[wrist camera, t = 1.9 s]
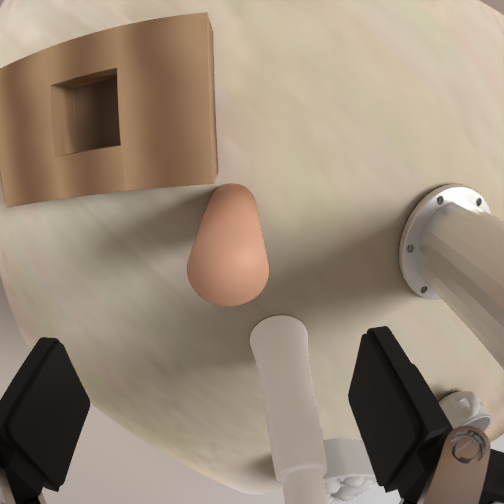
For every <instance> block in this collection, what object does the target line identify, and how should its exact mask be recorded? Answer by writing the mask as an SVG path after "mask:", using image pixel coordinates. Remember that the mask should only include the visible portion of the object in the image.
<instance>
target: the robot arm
mask: <svg viewBox="0 0 504 504" xmlns="http://www.w3.org/2000/svg"><path fill="white" fill-rule="evenodd" d="M399 263H400V270H401V272H402V275H403V278H404V279H405V281H406V282H407V284H408V285H409V286H410V287H411V288H412V290H413V291H414V292H415V293H417V294H418V295H420V296H422V297H425V298H428V299H442V300H443V301H444V302H445V303H446V304H447V305H448V306H449V307H450V308H451V309H452V310H453V311H454V312H455V313H456V315H457V316H458V317H459V318H460V319H461V320H462V321H463V322H464V323H465V324H466V326H467V327H468V328H469V329H470V330H471V331H472V332H473V333H474V335H475V336H476V337H477V338H478V339H479V340H480V342H481V343H482V344H483V345H484V346H485V347H486V349H487V350H488V351H489V352H490V353H491V355H492V356H493V357H494V358H495V359H496V361H497V362H498V363H499V364H500V365H501V367H502V368H503V369H504V221H502V220H501V219H499V218H497V217H495V216H493V215H491V212H490V209H489V206H488V204H487V202H486V201H485V199H484V198H483V197H482V196H481V195H480V194H479V193H478V192H477V191H475V190H474V189H472V188H470V187H467V186H464V185H461V184H449V185H444V186H442V187H439V188H437V189H435V190H434V191H432V192H431V193H429V194H428V195H426V196H425V197H424V198H423V199H422V200H421V201H420V202H419V203H418V205H417V206H416V207H415V209H414V210H413V212H412V213H411V215H410V217H409V219H408V221H407V223H406V224H405V227H404V230H403V233H402V236H401V241H400V246H399ZM348 398H349V403H350V406H351V409H352V412H353V414H354V417H355V420H356V423H357V425H358V428H359V431H360V434H361V437H362V440H363V442H364V445H365V448H366V451H367V454H368V457H369V460H370V463H371V466H372V469H373V472H374V475H375V478H376V481H377V483H378V485H379V486H384V488H385V491H386V493H387V492H390V491H393V490H396V489H398V492H399V494H400V497H401V501H400V503H399V504H504V453H503V452H500V451H496V450H493V449H490V442H489V439H488V437H487V436H486V434H485V433H484V432H483V431H481V430H480V429H479V428H476V427H474V426H468V425H465V426H459V427H457V428H455V429H453V427H452V425H451V424H450V422H449V420H448V418H447V417H446V415H445V413H444V411H443V410H442V408H441V406H440V405H439V403H438V401H437V399H436V398H435V396H434V394H433V393H432V391H431V389H430V388H429V386H428V384H427V383H426V381H425V380H424V378H423V376H422V375H421V373H420V372H419V370H418V368H417V367H416V366H415V365H414V364H412V363H411V362H410V360H409V359H408V357H407V355H406V354H405V352H404V351H403V349H402V348H401V346H400V344H399V343H398V341H397V340H396V338H395V337H394V335H393V334H392V332H391V331H390V329H389V328H388V327H387V326H383V327H376V328H370V329H368V331H367V334H363V335H362V338H361V342H360V347H359V352H358V356H357V360H356V365H355V369H354V373H353V377H352V381H351V385H350V389H349V393H348ZM89 408H90V399H89V397H88V395H87V393H86V391H85V389H84V387H83V386H82V384H81V382H80V380H79V377H78V375H77V373H76V371H75V369H74V367H73V365H72V363H71V361H70V358H69V356H68V354H67V352H66V350H65V347H64V345H63V344H62V343H60V341H59V340H58V339H56V338H46V337H42V338H40V339H39V340H38V342H37V343H36V345H35V346H34V348H33V349H32V351H31V352H30V354H29V355H28V357H27V358H26V360H25V361H24V363H23V365H22V366H21V368H20V369H19V371H18V372H17V374H16V375H15V377H14V378H13V380H12V382H11V383H10V385H9V387H8V388H7V390H6V392H5V393H4V395H3V397H2V398H1V400H0V504H47V503H46V501H45V499H44V497H43V494H42V492H41V491H42V488H43V487H45V488H47V489H50V490H53V491H56V492H58V491H59V487H60V486H61V485H63V483H64V481H65V478H66V475H67V472H68V469H69V466H70V462H71V459H72V456H73V453H74V450H75V447H76V444H77V442H78V439H79V436H80V433H81V430H82V427H83V424H84V422H85V419H86V416H87V414H88V411H89Z"/></svg>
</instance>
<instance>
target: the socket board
mask: <svg viewBox="0 0 504 504" xmlns="http://www.w3.org/2000/svg"><path fill="white" fill-rule="evenodd" d="M0 172H1V179H2V185H3V191H4V197H5V202H6V207H13V206H18V205H24V204H30V203H37V202H43V201H49V200H56V199H63V198H70V197H78V196H86V195H94V194H102V193H111V192H120V191H129V190H139V189H150V188H162V187H174V186H188V185H203V184H214V181H215V179H216V176H217V174H218V159H217V139H216V116H215V90H214V58H213V31H212V27H211V24H210V20H209V17H208V14H207V13H197V14H188V15H180V16H172V17H165V18H159V19H153V20H148V21H142V22H137V23H132V24H128V25H123V26H119V27H115V28H111V29H107V30H103V31H99V32H95V33H92V34H88V35H85V36H82V37H79V38H75V39H72V40H69V41H66V42H63V43H60V44H58V45H55V46H52V47H49V48H47V49H44V50H41V51H39V52H36V53H34V54H31V55H29V56H27V57H24V58H22V59H20V60H17V61H15V62H13V63H11V64H9V65H7V66H5V67H2V68H0Z"/></svg>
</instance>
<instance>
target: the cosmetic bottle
mask: <svg viewBox="0 0 504 504" xmlns="http://www.w3.org/2000/svg"><path fill="white" fill-rule="evenodd" d="M250 346H251V349H252V352H253V355H254V358H255V362H256V365H257V370H258V374H259V379H260V384H261V390H262V396H263V402H264V409H265V415H266V422H267V429H268V435H269V442H270V448H271V454H272V459H273V465H274V470H275V476H276V479H277V481H278V482H280V483H282V484H283V491H284V499H285V504H329V503H328V498H327V493H326V489H325V484H324V479H323V476H324V475H325V474H326V473H327V461H326V455H325V448H324V442H323V436H322V430H321V425H320V419H319V414H318V409H317V403H316V398H315V393H314V387H313V382H312V376H311V370H310V363H309V354H308V333H307V330H306V327H305V326H304V324H303V323H302V322H300V321H299V320H298V319H296V318H294V317H291V316H285V315H278V316H272V317H269V318H266V319H264V320H262V321H261V322H259V323H258V324H257V325H256V326H255V327H254V329H253V330H252V332H251V334H250Z"/></svg>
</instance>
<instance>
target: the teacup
mask: <svg viewBox="0 0 504 504" xmlns="http://www.w3.org/2000/svg"><path fill="white" fill-rule="evenodd" d="M438 403H439V405H440V406H441V408H442V410H443V411H444V413H445V415H446V417H447V418H448V420H449V422H450V424H451V425H452V427H453V429H455V428H457V427H459V426H465V425H468V426H474V427H476V428H479V429H480V430H481V431H483V432H485V431H486V430H487V428H488V427H489V425H490V424H491V421H492V418H491V416H490V415H489V414H488V412H487V410H486V409H485V407H484V405H483V404H482V402H481V400H480V399H479V398H478V397H477V396H476V395H475V394H474V393H473V392H455V393H452V394H449V395H448V396H446V397H444V398H443V399H441V400H440V401H439V402H438Z"/></svg>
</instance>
